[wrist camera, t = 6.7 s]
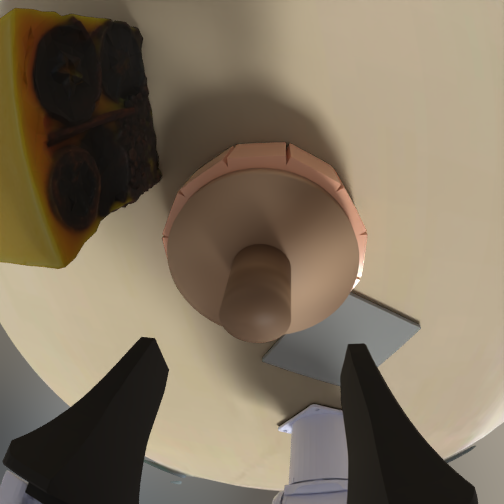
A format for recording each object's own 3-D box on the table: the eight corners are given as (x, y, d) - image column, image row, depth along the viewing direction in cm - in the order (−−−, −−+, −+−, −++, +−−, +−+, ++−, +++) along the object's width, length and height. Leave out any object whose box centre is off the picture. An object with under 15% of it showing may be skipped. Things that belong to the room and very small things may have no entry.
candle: (165, 180, 18) (74, 276, 9) (52, 195, 19) (-38, 268, 11) (145, 23, 12) (20, -2, 4) (28, 71, 14) (-82, 101, 5)
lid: (390, 220, 14) (422, 273, 10) (301, 341, 19) (301, 400, 16) (205, 135, 13) (170, 161, 9) (157, 288, 18) (130, 342, 14)
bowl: (387, 199, 17) (404, 223, 14) (297, 316, 23) (298, 349, 20) (222, 110, 15) (208, 117, 12) (162, 257, 21) (145, 285, 18)
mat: (419, 324, 22) (420, 328, 22) (349, 385, 27) (349, 388, 27) (327, 280, 20) (327, 284, 20) (262, 357, 26) (261, 361, 25)
